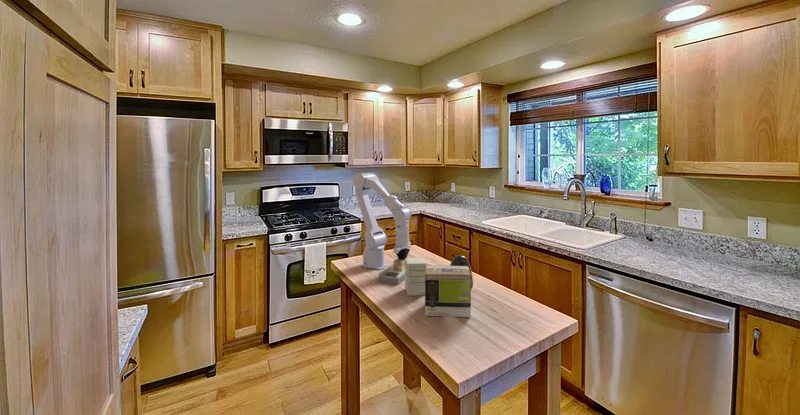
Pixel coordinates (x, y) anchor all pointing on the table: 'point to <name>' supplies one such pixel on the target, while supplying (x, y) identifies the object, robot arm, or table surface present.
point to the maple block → (399, 265)
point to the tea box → (447, 291)
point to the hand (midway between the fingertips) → (402, 265)
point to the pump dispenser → (462, 264)
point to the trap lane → (391, 275)
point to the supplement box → (415, 276)
